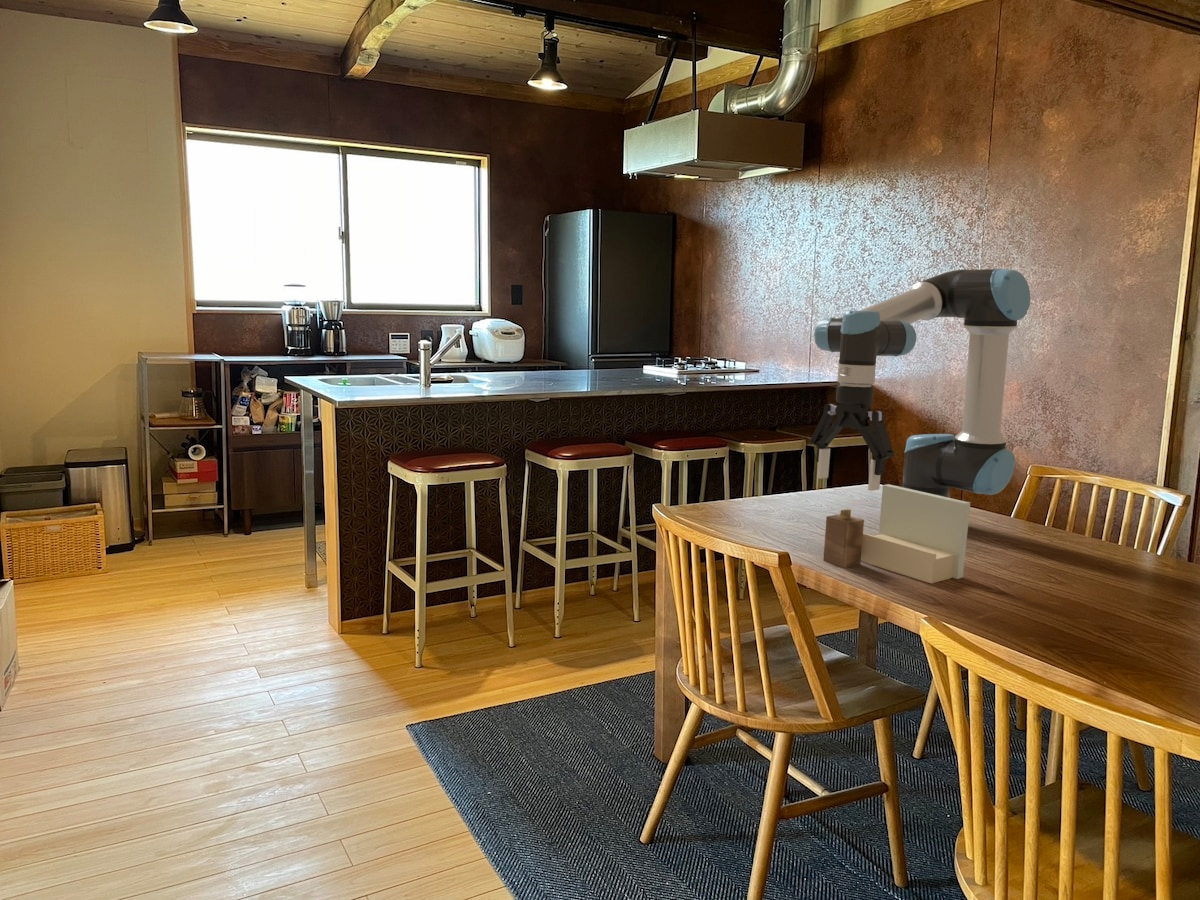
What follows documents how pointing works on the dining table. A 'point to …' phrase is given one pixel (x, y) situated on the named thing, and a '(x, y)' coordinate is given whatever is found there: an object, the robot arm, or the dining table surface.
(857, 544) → the wooden block with peg
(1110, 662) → the dining table surface
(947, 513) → the wall board
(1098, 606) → the dining table surface
